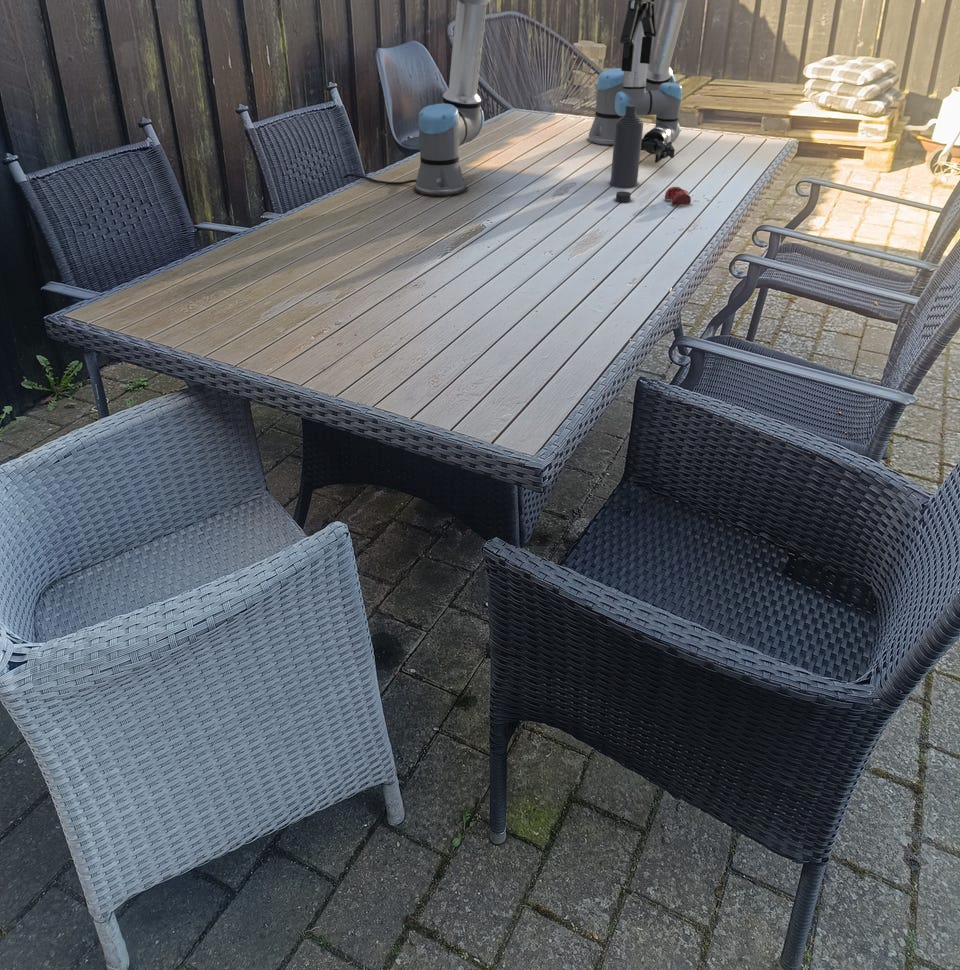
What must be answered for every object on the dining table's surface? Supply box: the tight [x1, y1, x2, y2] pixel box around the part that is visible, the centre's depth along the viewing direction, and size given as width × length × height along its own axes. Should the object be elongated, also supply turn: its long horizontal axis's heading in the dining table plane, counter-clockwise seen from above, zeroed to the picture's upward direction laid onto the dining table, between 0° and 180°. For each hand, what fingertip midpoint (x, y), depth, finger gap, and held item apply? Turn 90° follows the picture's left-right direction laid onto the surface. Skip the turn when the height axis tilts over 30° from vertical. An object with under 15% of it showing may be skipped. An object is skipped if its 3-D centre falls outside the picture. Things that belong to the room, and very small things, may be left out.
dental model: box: [664, 186, 692, 206], centre depth 247 cm, size 6×4×8 cm
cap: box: [615, 190, 632, 203], centre depth 249 cm, size 4×4×2 cm
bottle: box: [609, 104, 644, 189], centre depth 257 cm, size 8×8×23 cm
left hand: (635, 67), depth 229 cm, fingers open, 13 cm apart
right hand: (635, 155), depth 267 cm, fingers open, 13 cm apart
